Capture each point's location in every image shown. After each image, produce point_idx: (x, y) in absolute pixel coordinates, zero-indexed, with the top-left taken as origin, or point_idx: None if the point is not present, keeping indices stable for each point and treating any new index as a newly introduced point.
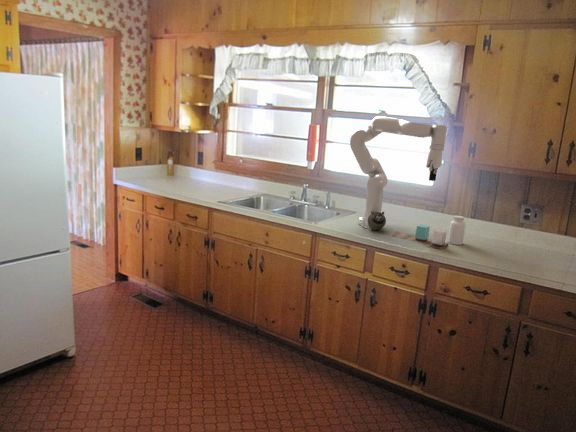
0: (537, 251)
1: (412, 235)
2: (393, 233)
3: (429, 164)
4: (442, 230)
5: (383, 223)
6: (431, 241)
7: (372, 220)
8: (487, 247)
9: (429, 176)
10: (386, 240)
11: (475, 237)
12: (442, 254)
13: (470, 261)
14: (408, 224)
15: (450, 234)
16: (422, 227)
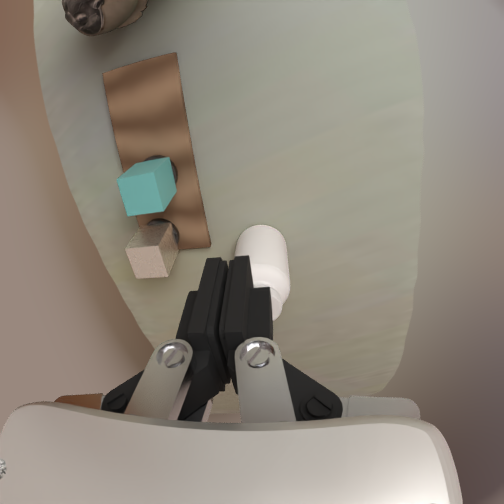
0: (361, 368)
1: (181, 120)
2: (136, 65)
3: (91, 484)
4: (160, 265)
5: (94, 35)
6: (177, 203)
7: (65, 9)
8: (301, 311)
9: (199, 291)
10: (68, 104)
11: (389, 257)
12: (119, 268)
13: (142, 321)
14: (368, 11)
15: (236, 253)
16: (123, 202)
